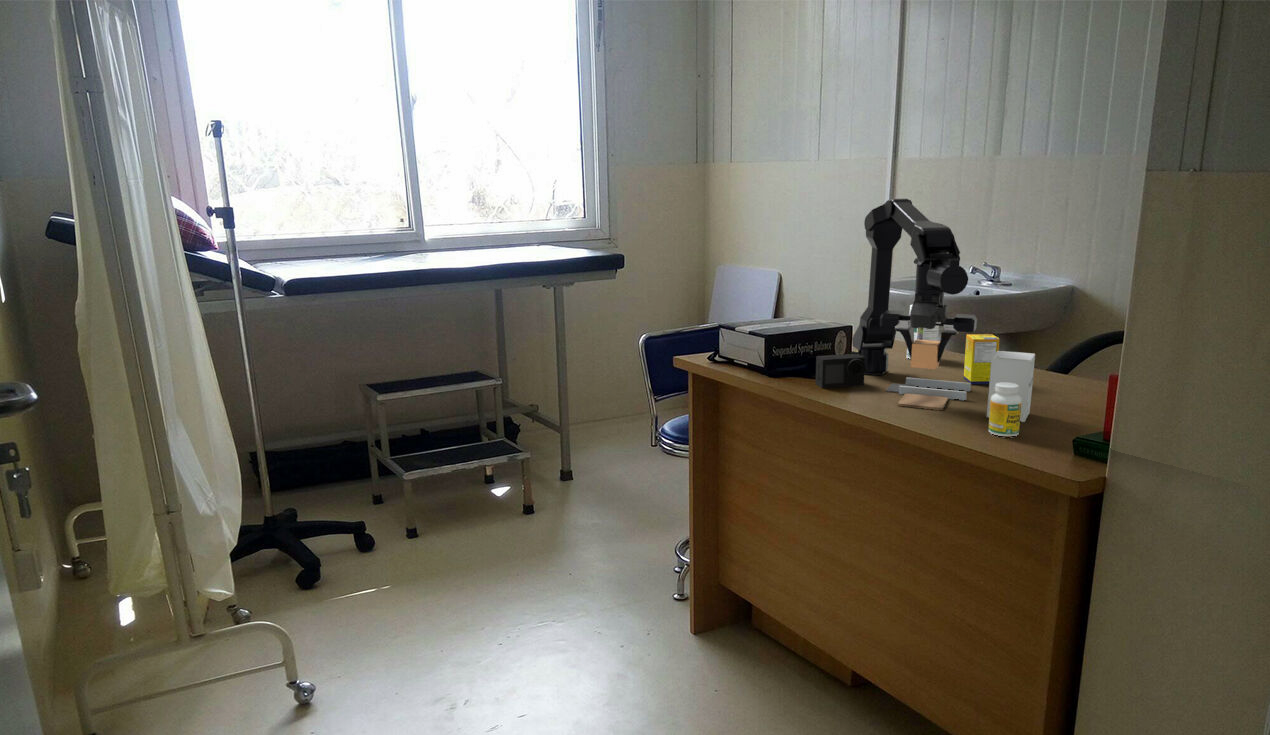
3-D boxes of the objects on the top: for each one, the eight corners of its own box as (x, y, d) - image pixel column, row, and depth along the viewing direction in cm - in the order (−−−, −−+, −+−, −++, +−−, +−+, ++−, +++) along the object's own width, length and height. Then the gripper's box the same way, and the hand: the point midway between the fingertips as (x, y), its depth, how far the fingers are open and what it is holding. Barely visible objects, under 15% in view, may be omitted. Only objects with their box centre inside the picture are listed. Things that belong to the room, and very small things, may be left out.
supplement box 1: (988, 378, 196) (992, 333, 194) (996, 385, 190) (1000, 338, 188) (962, 378, 197) (965, 333, 194) (970, 384, 191) (973, 338, 189)
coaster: (897, 406, 175) (897, 403, 175) (905, 395, 183) (905, 393, 183) (942, 410, 171) (942, 407, 171) (947, 400, 179) (948, 397, 179)
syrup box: (905, 358, 219) (908, 304, 216) (925, 356, 221) (928, 302, 217) (917, 362, 214) (920, 307, 211) (937, 361, 215) (941, 306, 212)
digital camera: (823, 390, 190) (824, 360, 188) (815, 384, 195) (815, 355, 193) (866, 387, 191) (867, 357, 190) (856, 381, 196) (857, 353, 195)
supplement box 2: (1025, 423, 162) (1031, 360, 159) (985, 418, 166) (990, 356, 163) (1030, 413, 168) (1036, 353, 165) (991, 408, 172) (996, 349, 169)
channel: (898, 394, 184) (899, 386, 184) (906, 384, 192) (906, 377, 192) (965, 400, 178) (966, 392, 178) (970, 390, 186) (970, 382, 186)
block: (910, 367, 174) (912, 343, 173) (914, 362, 179) (916, 339, 177) (935, 369, 172) (937, 345, 171) (939, 364, 176) (940, 341, 175)
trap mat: (886, 391, 187) (886, 390, 187) (892, 384, 193) (892, 383, 193) (908, 393, 184) (909, 392, 184) (914, 386, 191) (914, 385, 190)
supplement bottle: (1000, 427, 159) (1004, 379, 157) (1025, 435, 155) (1029, 385, 152) (981, 432, 157) (985, 383, 154) (1006, 440, 152) (1010, 389, 150)
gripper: (875, 290, 169) (872, 365, 172) (973, 295, 160) (967, 373, 164) (886, 284, 178) (883, 354, 182) (979, 287, 170) (974, 361, 173)
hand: (925, 360), depth 175 cm, fingers closed on block, 5 cm apart
